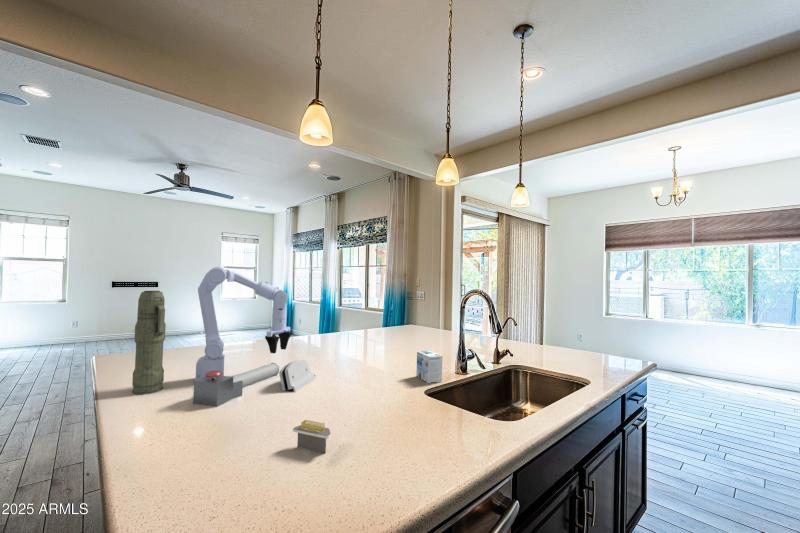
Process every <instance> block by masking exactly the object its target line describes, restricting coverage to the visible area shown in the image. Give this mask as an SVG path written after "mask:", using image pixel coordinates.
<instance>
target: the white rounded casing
mask: <svg viewBox="0 0 800 533" xmlns="http://www.w3.org/2000/svg"><path fill="white" fill-rule="evenodd" d="M278 374H279V379H280V383H281V389H282V392H285V391H287V390H292V389H293V392H294V393H297V392H298V391H300V390H301V389H302V388H304V387H306V386H307V385H309V384H311V383H312V382H314V381H315V380H316V376H315V374H313V373H312V372H311V370H310V366H309V363H308V361H307V360H305V359H297V360H294V361H291V362H288V363H287V364H285V365H284V366H283V367H281V369H280V370H279V373H278ZM314 379H315V380H314ZM313 380H314V381H313ZM311 381H312V382H311Z"/></svg>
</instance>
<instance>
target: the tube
mask: <svg viewBox="0 0 800 533" xmlns="http://www.w3.org/2000/svg"><path fill="white" fill-rule="evenodd" d="M279 372H280V366H279V365H278V364H277V363H276V362H271V363H269V364H266V365H262V366H260V367H257V368H254V369H250V370H247V371H244V372H241V373H239V374H236V375H233V376H231V377H233V383H234V382H238V381H243V388H245V387H248V386H250V385H254V384H256V383H258V382H261V381H264V380H266V379H269V377H270V378H272V377H275V376H277V375H278V374H279ZM274 375H275V376H274Z"/></svg>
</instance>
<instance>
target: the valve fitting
mask: <svg viewBox="0 0 800 533" xmlns="http://www.w3.org/2000/svg"><path fill="white" fill-rule="evenodd" d="M220 375H221V371H210V372H207V373H205V376H206V377H203V378H200V379H198V380H196V379H194V380H195V381H194V380H193V394H192V396H193V397H192V404H193V405H199V406H200V405H201V406H207V407H208V406H209V407H216V408H217V407H220V406H221V405H223V404H226V403H227V402H229V401H231V400H233V399H236V398H239V397H243V389H244V387H243V381H238V382H234V383H233V377H232V376H227V375H224V376H220Z"/></svg>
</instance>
